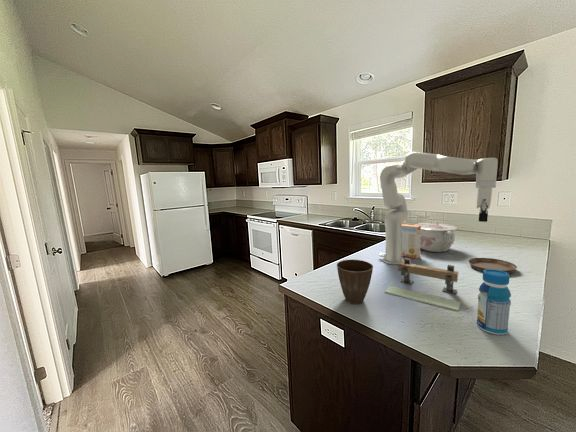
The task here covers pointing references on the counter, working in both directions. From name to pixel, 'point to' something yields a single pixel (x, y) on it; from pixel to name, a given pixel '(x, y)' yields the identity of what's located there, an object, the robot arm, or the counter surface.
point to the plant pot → (354, 279)
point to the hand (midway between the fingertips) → (483, 220)
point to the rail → (428, 271)
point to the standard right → (449, 282)
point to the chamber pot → (436, 236)
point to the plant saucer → (492, 264)
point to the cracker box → (411, 240)
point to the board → (424, 298)
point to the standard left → (406, 275)
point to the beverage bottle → (494, 302)
